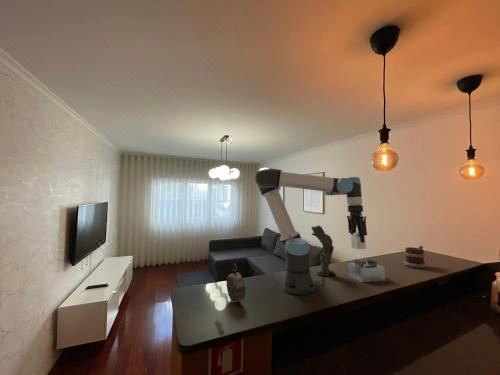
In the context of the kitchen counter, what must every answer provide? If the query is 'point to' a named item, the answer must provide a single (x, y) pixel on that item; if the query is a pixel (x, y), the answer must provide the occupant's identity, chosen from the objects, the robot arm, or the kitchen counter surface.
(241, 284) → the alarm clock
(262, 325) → the kitchen counter surface
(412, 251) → the chocolate layer cake
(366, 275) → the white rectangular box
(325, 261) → the mechanical leg
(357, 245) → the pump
